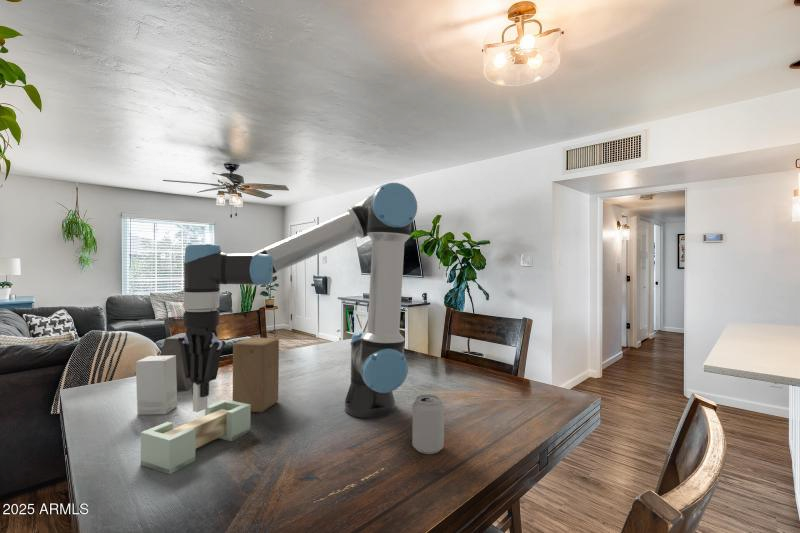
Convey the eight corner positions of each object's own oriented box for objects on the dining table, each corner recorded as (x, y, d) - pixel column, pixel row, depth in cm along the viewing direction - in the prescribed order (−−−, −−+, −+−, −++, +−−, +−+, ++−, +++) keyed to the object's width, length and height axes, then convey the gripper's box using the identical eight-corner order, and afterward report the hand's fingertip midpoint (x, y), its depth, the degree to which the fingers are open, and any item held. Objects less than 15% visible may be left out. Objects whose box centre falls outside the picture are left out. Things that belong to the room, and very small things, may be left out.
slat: (221, 428, 98) (221, 408, 98) (231, 430, 97) (231, 411, 97) (160, 457, 83) (161, 434, 83) (171, 460, 82) (172, 437, 82)
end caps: (224, 425, 102) (224, 399, 102) (250, 431, 98) (250, 404, 98) (140, 464, 82) (140, 432, 82) (169, 474, 78) (169, 440, 78)
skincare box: (177, 406, 115) (178, 354, 114) (164, 415, 108) (165, 360, 108) (149, 406, 114) (149, 354, 114) (134, 415, 108) (135, 360, 108)
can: (424, 437, 96) (425, 390, 96) (449, 447, 92) (450, 397, 92) (405, 448, 91) (406, 398, 90) (431, 459, 86) (432, 406, 86)
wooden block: (261, 414, 110) (262, 344, 110) (230, 410, 112) (231, 342, 112) (279, 401, 120) (280, 338, 120) (250, 399, 122) (251, 336, 122)
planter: (175, 383, 122) (193, 323, 133) (150, 383, 121) (170, 323, 132) (196, 397, 136) (210, 341, 147) (173, 397, 135) (190, 341, 147)
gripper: (235, 309, 91) (233, 408, 91) (196, 306, 96) (194, 400, 96) (208, 313, 84) (206, 420, 84) (167, 309, 89) (166, 410, 89)
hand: (200, 409), depth 90 cm, fingers closed
